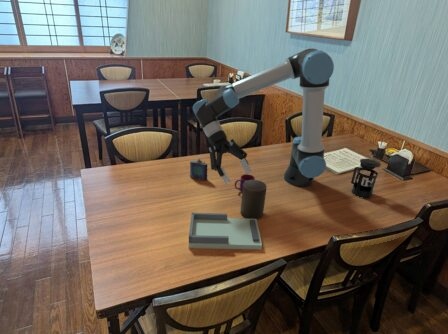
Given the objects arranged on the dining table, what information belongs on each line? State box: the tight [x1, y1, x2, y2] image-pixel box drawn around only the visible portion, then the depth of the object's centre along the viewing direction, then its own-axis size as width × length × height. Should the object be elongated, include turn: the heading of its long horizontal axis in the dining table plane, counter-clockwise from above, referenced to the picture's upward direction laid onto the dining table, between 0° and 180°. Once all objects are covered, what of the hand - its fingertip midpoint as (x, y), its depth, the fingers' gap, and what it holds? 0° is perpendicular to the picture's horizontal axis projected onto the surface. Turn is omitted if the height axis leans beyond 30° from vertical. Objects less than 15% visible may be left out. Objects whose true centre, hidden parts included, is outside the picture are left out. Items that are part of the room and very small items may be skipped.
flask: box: [189, 158, 208, 182], centre depth 154 cm, size 9×3×11 cm, turn 71°
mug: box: [234, 173, 256, 193], centre depth 146 cm, size 7×10×7 cm
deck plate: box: [188, 212, 263, 251], centre depth 115 cm, size 26×16×4 cm, turn 91°
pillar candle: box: [240, 179, 268, 220], centre depth 127 cm, size 10×10×15 cm
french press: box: [350, 148, 382, 199], centre depth 146 cm, size 12×9×23 cm
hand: (239, 177), depth 129 cm, fingers open, 13 cm apart
